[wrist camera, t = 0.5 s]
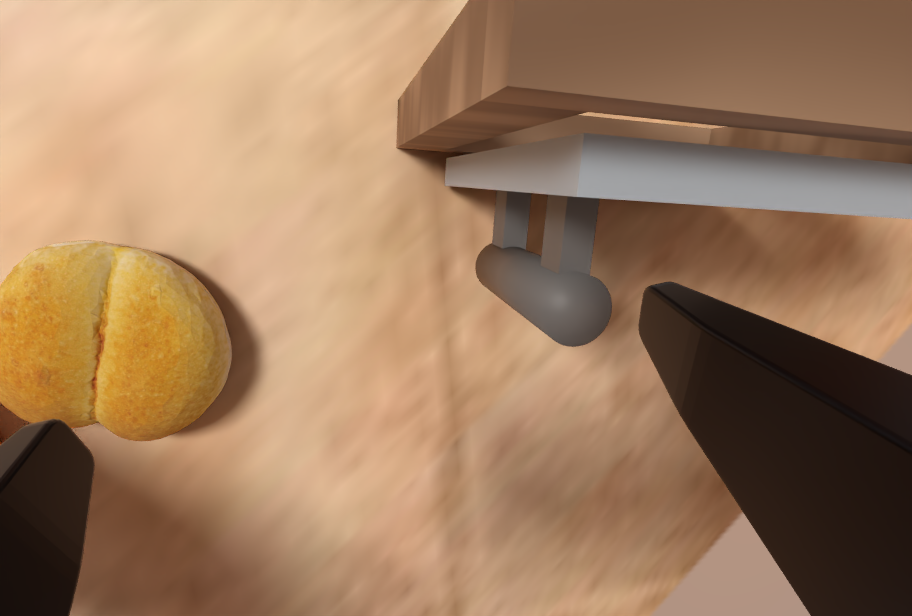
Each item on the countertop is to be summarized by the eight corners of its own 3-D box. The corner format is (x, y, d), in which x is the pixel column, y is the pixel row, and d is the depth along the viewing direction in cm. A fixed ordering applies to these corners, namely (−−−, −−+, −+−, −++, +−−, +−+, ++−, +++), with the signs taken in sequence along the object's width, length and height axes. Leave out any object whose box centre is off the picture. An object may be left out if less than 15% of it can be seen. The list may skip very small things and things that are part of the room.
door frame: (724, 174, 27) (1261, 171, 11) (396, 147, 23) (507, 85, 7) (732, 134, 26) (1303, 71, 11) (398, 100, 23) (520, -73, 7)
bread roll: (216, 436, 25) (192, 483, 21) (-2, 397, 22) (-72, 442, 19) (257, 273, 23) (239, 292, 20) (29, 213, 21) (-41, 221, 17)
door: (672, 287, 27) (987, 392, 14) (439, 280, 24) (552, 404, 11) (691, 177, 26) (1057, 178, 13) (446, 158, 23) (584, 132, 10)
